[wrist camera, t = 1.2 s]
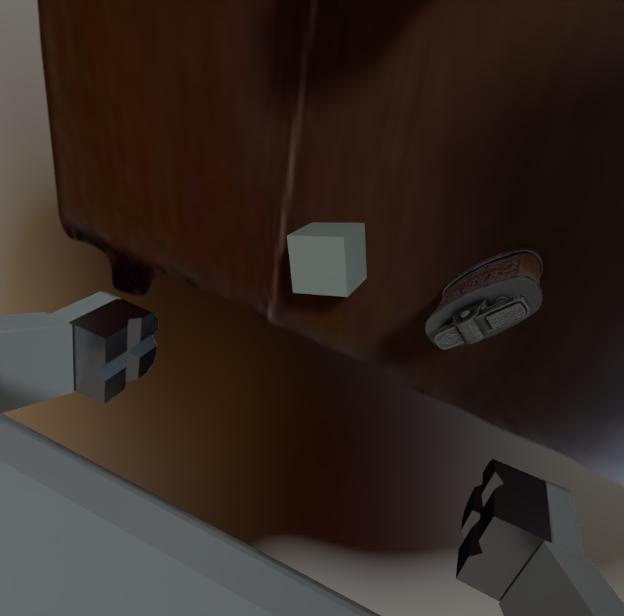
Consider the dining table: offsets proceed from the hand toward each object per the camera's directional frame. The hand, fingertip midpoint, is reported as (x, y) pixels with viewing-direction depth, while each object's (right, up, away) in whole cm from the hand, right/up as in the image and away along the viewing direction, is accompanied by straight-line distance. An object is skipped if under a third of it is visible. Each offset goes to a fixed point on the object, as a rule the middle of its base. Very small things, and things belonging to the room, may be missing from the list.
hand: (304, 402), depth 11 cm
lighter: (+15, +4, +27) cm, 31 cm away
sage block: (+3, +7, +32) cm, 33 cm away
